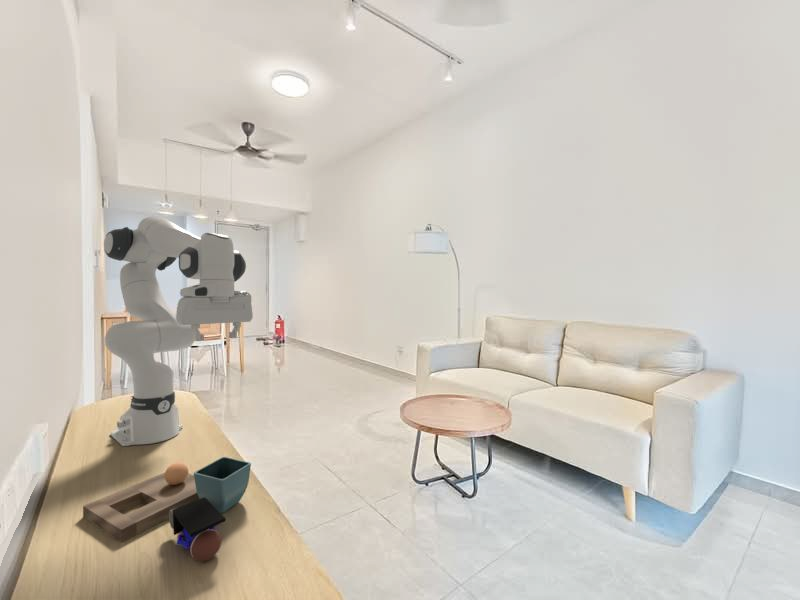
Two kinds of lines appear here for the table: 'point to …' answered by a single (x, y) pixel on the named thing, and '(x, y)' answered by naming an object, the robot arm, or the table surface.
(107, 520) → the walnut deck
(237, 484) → the flower pot
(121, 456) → the table surface
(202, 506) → the figurine character
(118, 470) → the table surface
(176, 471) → the rubber ball
